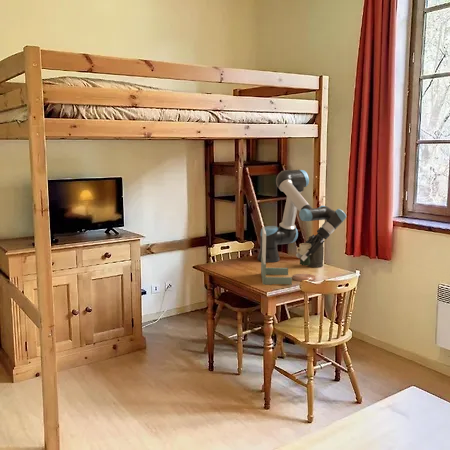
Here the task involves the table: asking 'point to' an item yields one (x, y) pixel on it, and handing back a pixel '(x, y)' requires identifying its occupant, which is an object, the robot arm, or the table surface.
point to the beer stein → (317, 257)
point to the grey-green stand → (272, 271)
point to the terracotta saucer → (304, 277)
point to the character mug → (302, 251)
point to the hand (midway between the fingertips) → (299, 258)
